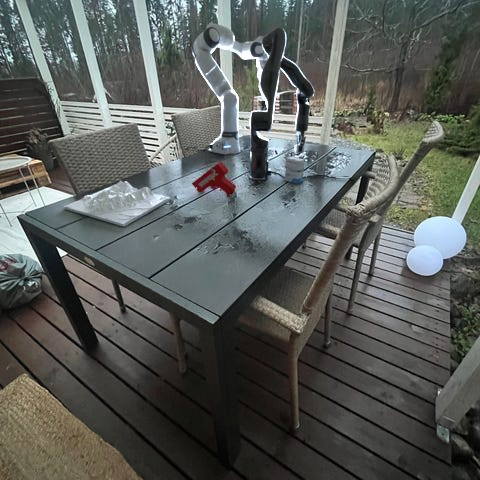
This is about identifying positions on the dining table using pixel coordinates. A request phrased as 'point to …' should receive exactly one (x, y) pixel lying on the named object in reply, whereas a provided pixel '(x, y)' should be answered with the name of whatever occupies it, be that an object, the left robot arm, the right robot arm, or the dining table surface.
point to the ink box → (294, 170)
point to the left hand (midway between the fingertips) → (261, 86)
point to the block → (298, 148)
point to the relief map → (118, 203)
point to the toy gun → (215, 180)
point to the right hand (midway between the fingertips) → (298, 151)
